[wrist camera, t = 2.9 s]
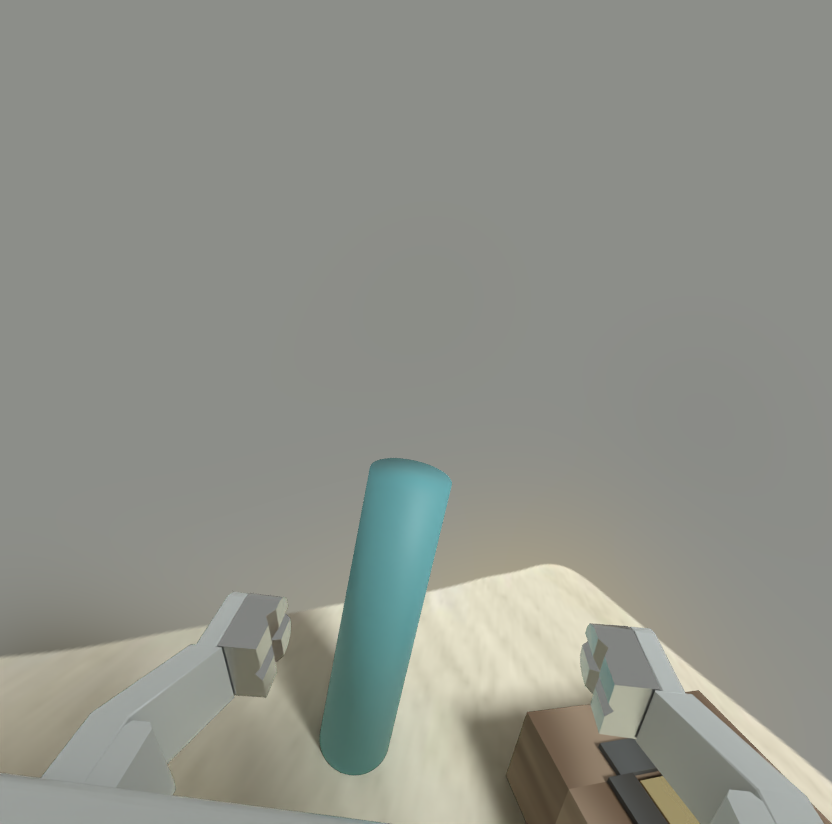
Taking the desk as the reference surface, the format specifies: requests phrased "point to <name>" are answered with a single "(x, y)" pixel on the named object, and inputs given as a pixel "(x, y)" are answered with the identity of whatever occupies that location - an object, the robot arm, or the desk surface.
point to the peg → (382, 610)
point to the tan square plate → (668, 801)
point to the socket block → (586, 770)
